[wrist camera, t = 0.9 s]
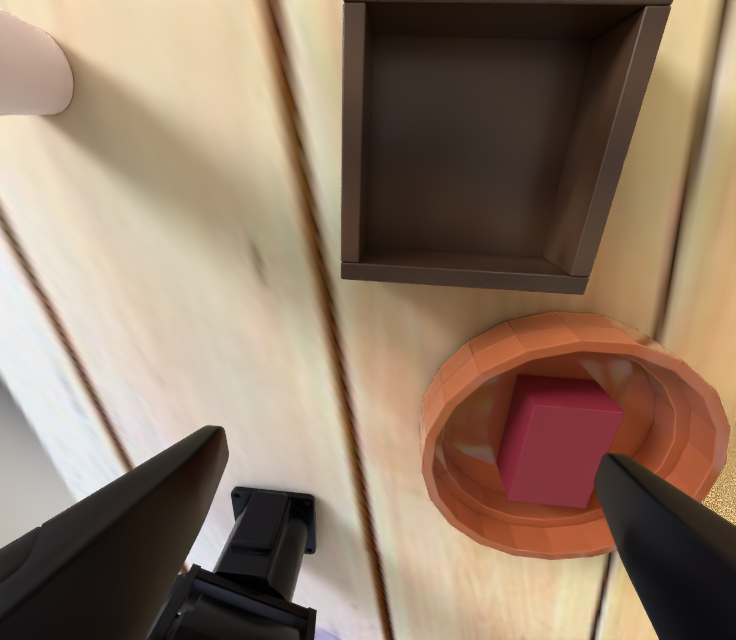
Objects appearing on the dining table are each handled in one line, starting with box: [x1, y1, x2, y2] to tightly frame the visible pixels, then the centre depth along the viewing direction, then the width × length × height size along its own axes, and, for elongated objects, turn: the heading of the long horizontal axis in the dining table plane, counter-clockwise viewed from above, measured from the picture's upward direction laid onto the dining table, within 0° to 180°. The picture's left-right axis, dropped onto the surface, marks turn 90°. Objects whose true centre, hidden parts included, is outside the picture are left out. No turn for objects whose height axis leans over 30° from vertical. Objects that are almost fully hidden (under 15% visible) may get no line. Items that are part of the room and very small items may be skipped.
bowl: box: [419, 311, 730, 560], centre depth 21 cm, size 15×15×4 cm
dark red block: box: [496, 374, 624, 508], centre depth 21 cm, size 7×4×3 cm, turn 178°
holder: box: [341, 0, 673, 295], centre depth 15 cm, size 11×11×4 cm
